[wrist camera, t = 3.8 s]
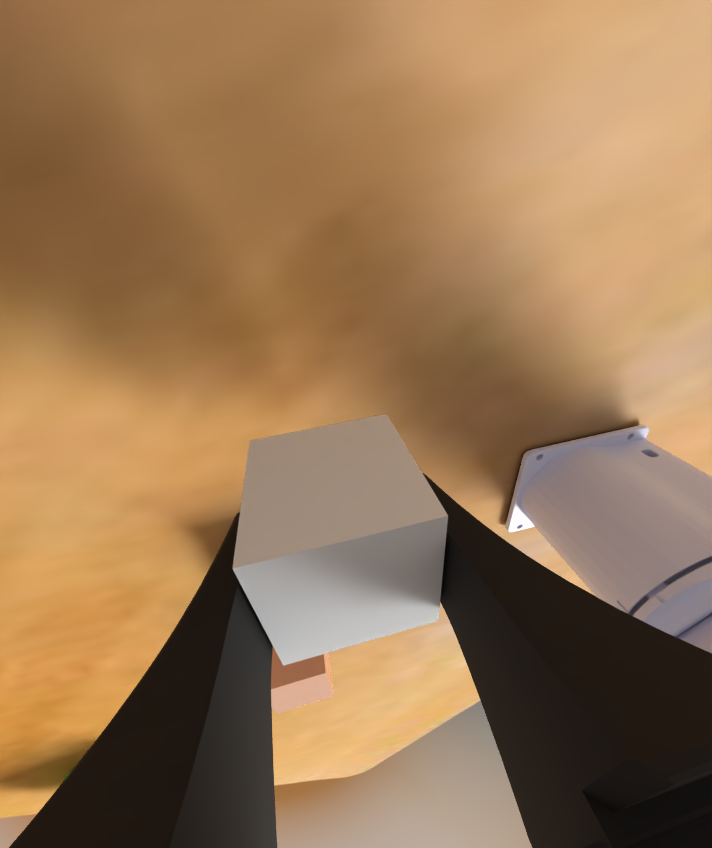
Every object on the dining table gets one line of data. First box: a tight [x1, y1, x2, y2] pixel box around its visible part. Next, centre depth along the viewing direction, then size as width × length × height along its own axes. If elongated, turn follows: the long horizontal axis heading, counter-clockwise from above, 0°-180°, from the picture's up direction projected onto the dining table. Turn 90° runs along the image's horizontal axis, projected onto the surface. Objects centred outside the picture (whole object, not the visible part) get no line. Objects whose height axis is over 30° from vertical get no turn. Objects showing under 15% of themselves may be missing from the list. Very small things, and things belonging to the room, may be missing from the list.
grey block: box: [232, 414, 448, 666], centre depth 9 cm, size 4×4×4 cm
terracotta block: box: [271, 647, 334, 714], centre depth 25 cm, size 4×4×4 cm
